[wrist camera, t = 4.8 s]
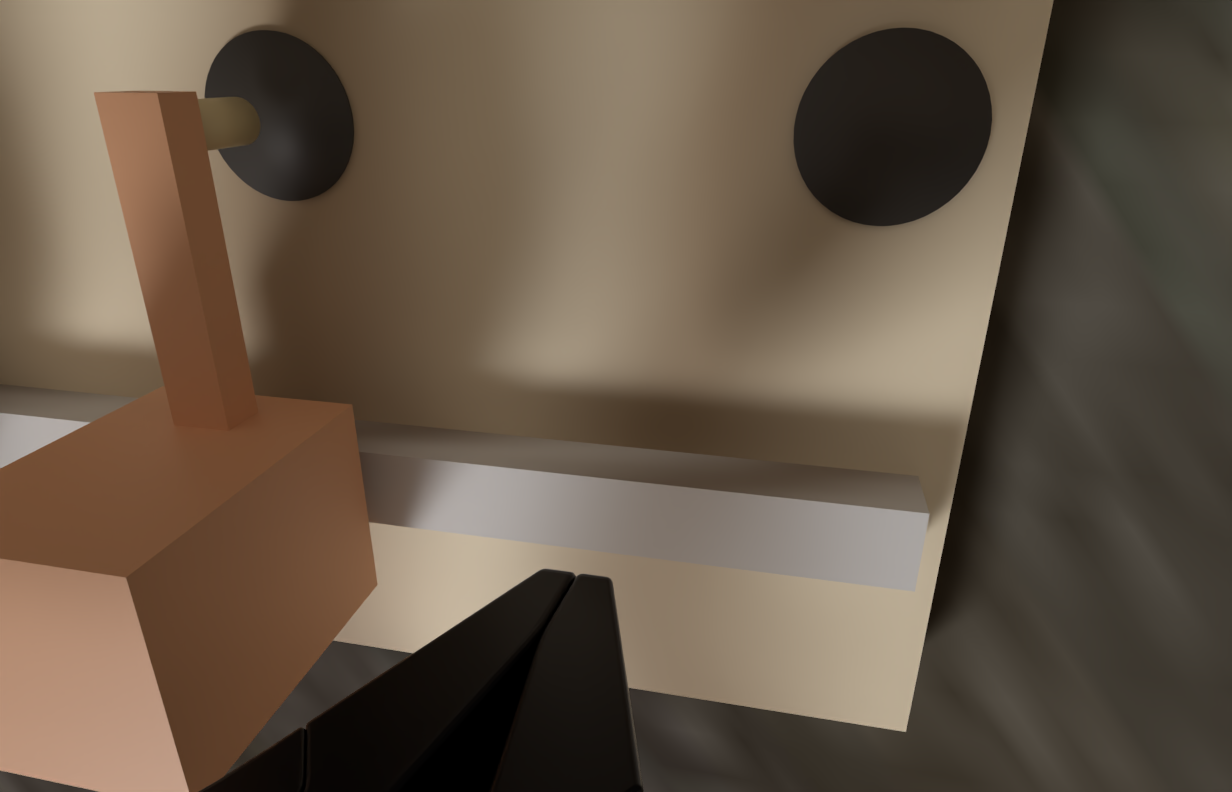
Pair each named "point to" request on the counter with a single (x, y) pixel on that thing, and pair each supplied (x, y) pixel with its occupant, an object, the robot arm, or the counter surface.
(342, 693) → the counter surface
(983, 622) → the counter surface
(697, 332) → the hole plate
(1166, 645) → the counter surface
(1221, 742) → the counter surface
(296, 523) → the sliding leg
